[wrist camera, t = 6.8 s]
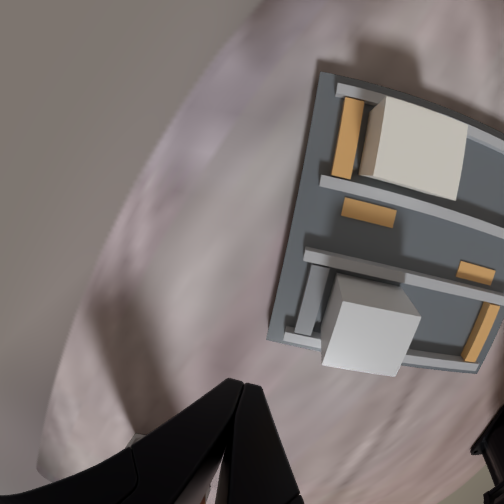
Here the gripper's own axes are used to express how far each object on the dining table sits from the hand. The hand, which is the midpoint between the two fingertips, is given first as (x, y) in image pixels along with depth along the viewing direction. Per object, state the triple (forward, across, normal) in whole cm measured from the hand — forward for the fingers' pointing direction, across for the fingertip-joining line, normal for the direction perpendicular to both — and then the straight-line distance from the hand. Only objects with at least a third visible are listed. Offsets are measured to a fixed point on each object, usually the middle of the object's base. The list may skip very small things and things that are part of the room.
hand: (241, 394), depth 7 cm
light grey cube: (+11, -5, +1) cm, 12 cm away
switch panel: (+12, -8, -3) cm, 15 cm away
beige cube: (+11, -5, -8) cm, 14 cm away
